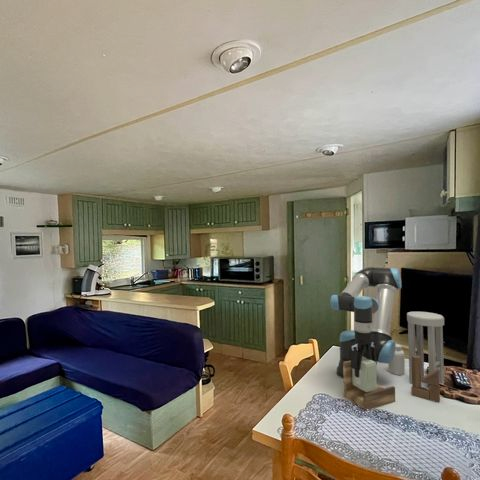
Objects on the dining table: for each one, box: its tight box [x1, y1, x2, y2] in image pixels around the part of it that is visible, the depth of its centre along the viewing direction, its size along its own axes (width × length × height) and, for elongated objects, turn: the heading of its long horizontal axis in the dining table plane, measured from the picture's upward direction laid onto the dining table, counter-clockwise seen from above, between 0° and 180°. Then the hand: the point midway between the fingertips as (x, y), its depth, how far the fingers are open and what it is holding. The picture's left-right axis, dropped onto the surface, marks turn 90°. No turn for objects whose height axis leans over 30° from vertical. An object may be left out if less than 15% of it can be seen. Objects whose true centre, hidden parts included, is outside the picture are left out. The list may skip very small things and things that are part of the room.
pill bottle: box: [387, 343, 406, 376], centre depth 160 cm, size 8×8×15 cm
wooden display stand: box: [342, 357, 396, 411], centre depth 131 cm, size 13×18×16 cm
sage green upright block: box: [352, 356, 377, 392], centre depth 130 cm, size 8×6×12 cm
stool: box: [406, 311, 445, 385], centre depth 146 cm, size 16×16×35 cm
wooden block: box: [410, 354, 441, 403], centre depth 133 cm, size 4×11×18 cm, turn 51°
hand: (364, 382), depth 130 cm, fingers closed on sage green upright block, 6 cm apart
